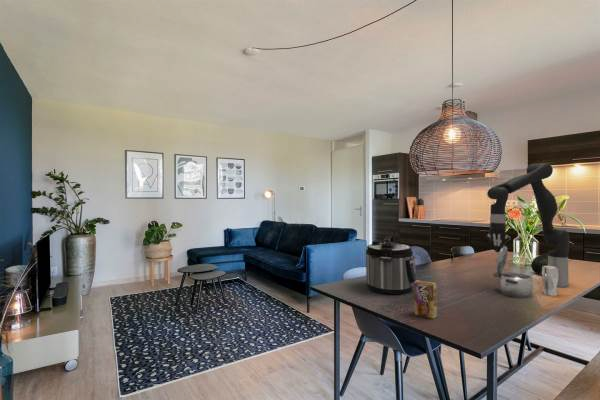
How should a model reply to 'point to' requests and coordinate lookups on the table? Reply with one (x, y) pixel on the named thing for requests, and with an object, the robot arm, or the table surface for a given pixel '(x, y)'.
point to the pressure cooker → (390, 267)
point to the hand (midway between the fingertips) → (497, 252)
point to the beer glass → (550, 280)
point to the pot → (515, 284)
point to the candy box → (425, 299)
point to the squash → (539, 263)
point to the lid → (501, 259)
